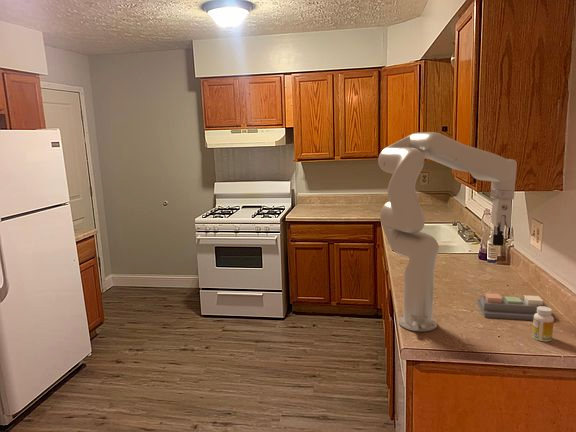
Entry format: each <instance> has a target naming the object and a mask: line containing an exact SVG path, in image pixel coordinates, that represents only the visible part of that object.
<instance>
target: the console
mask: <svg viewBox="0 0 576 432" xmlns="http://www.w3.org/2000/svg"><path fill="white" fill-rule="evenodd" d="M501 298H502V303H487V302H486V300H485V295H480V296H479V299H477V301H476V302H477V305H478V308H479V310H480V312H481V313H482V315H483V317H484V318H492V319H504V320H505V319H506V320H507V319H508V320H522V321H533V319H534V314H536V313H537V307H539V306H540V305H527V304H526V303H525V301H524V297H519V298H520V300H521V301H522V304H507V303H506V302H505V300H504V298H505V296H501ZM543 306H544V307H548V308H549V306H548V305H547V304H546V303H545V302H544V301H543Z"/></svg>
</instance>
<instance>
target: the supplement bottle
mask: <svg viewBox="0 0 576 432" xmlns="http://www.w3.org/2000/svg"><path fill="white" fill-rule="evenodd" d="M552 313H553V308H550V307H549V306H548V307H544V306H539V307H537V313H536V314H534V319H533V320H532V331H531V332H532V335H531V336H532V338H533V339H534V340H537V341H539V342H546V343H547V342H551V341H552V340H553V334H554V320H555V318H554V317H553V315H552Z"/></svg>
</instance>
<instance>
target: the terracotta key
mask: <svg viewBox="0 0 576 432" xmlns="http://www.w3.org/2000/svg"><path fill="white" fill-rule="evenodd" d="M484 296H485V300H486V302H487V303H502V298H501V297H502V296H501V295H500V293H490V292H489V293H487V292H486V293H484Z"/></svg>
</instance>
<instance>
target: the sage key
mask: <svg viewBox="0 0 576 432" xmlns="http://www.w3.org/2000/svg"><path fill="white" fill-rule="evenodd" d="M504 297H505V298H504V300H505V302H506V303H507V304H522V301H521V300H520V298H521V297H519V296H508V295H507V296H504Z"/></svg>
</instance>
